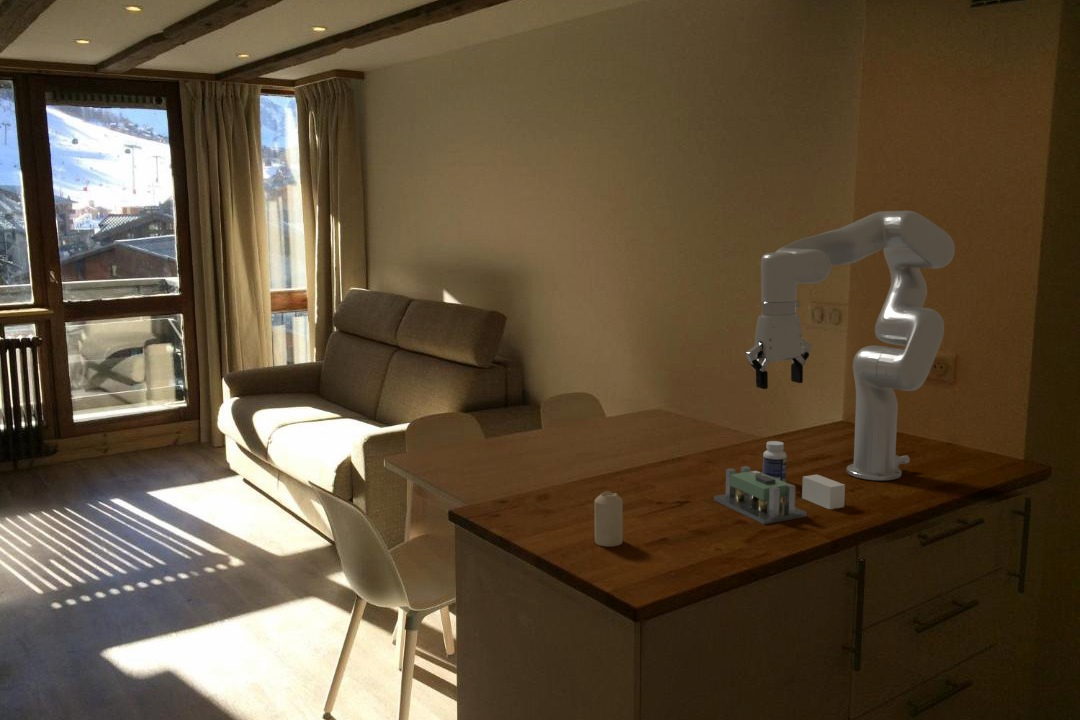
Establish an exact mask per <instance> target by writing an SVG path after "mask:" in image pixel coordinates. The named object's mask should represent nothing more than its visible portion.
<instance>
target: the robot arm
mask: <svg viewBox="0 0 1080 720" xmlns="http://www.w3.org/2000/svg"><path fill="white" fill-rule="evenodd" d="M881 250H883V255H884V259H885V262H886V263H887V267H888V270H889V273H890V274H889V275H890V279H891V280H890V287H889V290H888V293H887V295H886V298H885V301H884V302H883V305H882V308H881V310H880V312H879V315H878V317H877V319H876V322H875V326H874V334H875V337H876V339H878V340H879V341H880V342H883V343H885V344H889V345H894V346H903V347H905V348H904V349H903V348H896V347H892V346H891V347H890V346H883V345H873V344H872V345H867V346H864V347H862V348H861V349H859V350H858V351H857V352H856V354H855V355H854V358H853V361H852V371H853V377H854V383H855V419H854V443H853V444H854V445H853V463H851V464H849V465H847V467H846V472H847V474H848V475H850V476H853V477H854V478H858V479H863V480H868V481H894V480H897V479H900V478H901V476H902V473H903V471H902V470H901V469H900V468H899V466H900V465H901V464H902V465H904V464H909V463H910V457H909V455H907V454H906V455H900V456H899V455H897V453H896V451H897V449H896V447H897V446H896V445H897V427H898V412H899V403H898V399H897V396H896V393H895V391H894V390H900V391H904V392H912V391H916V390H918V389H920V388H921V387H922V386H923V384H924V383H925V382H926V380H927V379H928V375H930V371H931V369H932V367H933V364H934V362H935V359H936V356H937V355H938V352H939V349H940V347H941V345H942V341H943V338H944V333H945V323H944V319H943V317H942V315H941V314H940V313H939V312H938V311H937V310H935V309H932V308H928V307H924V304H925V301H926V298H927V295H928V286H927V285H928V284H927V282H926V280H925V278H924V276H923V274H922V271H921V269H933V270H934V269H942V268H944V267H946V266H948V265H949V264H950V263H951V262H952V261H953V260H954V259H953V258H954V256H955V253H956V252H955V251H956V246H955V243H954V240H953V238H952V237H951V235H950V234H949V233H948V232H946V230H944V229H942V227H939V226H938V225H937V224H935V223H934V222H933V221H931V220H930V219H929V218H928V217H927V218H926V217H925V216H924V215H922V214H920V213H918V212H915V211H913V210H884V211H883V210H881V211H877V212H874V213H871V214H869V215H867V216H865V217H862V218H861V219H858V220H856V221H854V222H851V223H849V224H847V225H845V226H842V227H840V228H835V229H832V230H829V231H825V232H822V233H819V234H815V235H812V236H808V237H804V238H801V239H797V240H795V241H793V242H790V243H788V244H786V245H784V246H782V247H780V248H779V249H778V248H777V250H776V251H775V252H774V251H773V252H767V253H765V254H763V255H762V257H761V259H760V285H761V286H760V292H761V293H760V294H761V295H760V296H761V297H760V298H761V299H760V300H761V301H760V302H761V303H760V304H761V306H760V307H761V310H760V311H761V315H758V318H757V322H756V325H755V326H756V327H755V334H754V346H752V347H751V348H750V349H749V350H747V351H746V352H745V356H746V358H747V360H748V364H750V366H751V367H752V369H753V370H754V371H755V385H756V388H760V389H762V390H767V389H768V387H769V381H768V379H769V378H768V377H769V376H768V375H769V374H768V371H767V370H766V369H767V368H768V366H769V365H770V363H772V362H773V363H774V362H780V361H787V360H790V361H792V363H791V365H790V379H791V382H794V383H798V384H803V382H804V367H803V366H805V365H806V361H807V360H808V358H809V356H810V353H811V350H812V347H813V344H812V343H811V342H808V341H806V340H804V339H803V334H802V325H801V324H802V323H801V321H800V320H801V319H800V315H799V313H797V311H798V310H797V309H798V308H799V307H800V306H801V304H800V302H799V301H797V300H798V299H797V291H798V289H797V288H798V287H797V285H798V284H818V283H821V282H823V281H825V280H826V279H827V278H828V277H829V276H830V273H831V272H832V267H833V266H843V265H848V264H853V263H856V262H859V261H861V260H863V259H864V258H867V257H869V256H872V255H873V254H875V253H877V252H879V251H881Z"/></svg>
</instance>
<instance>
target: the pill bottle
mask: <svg viewBox="0 0 1080 720" xmlns="http://www.w3.org/2000/svg"><path fill="white" fill-rule="evenodd" d="M784 449H785V444H784V442H782V441H779V440H778V441H777V440H769V441H767V442H766V450H765V451H764V452H763V455H762V457H763V459H762V461H763V462H762V463H763V464H762V473H763V474H766V475H768V476H771V477H773V478H776V479H778V480H781V481H783V482H786V481H787V459H788V458H787V457H788V456H787V453H786V452H785V451H784ZM786 483H787V482H786Z"/></svg>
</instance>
